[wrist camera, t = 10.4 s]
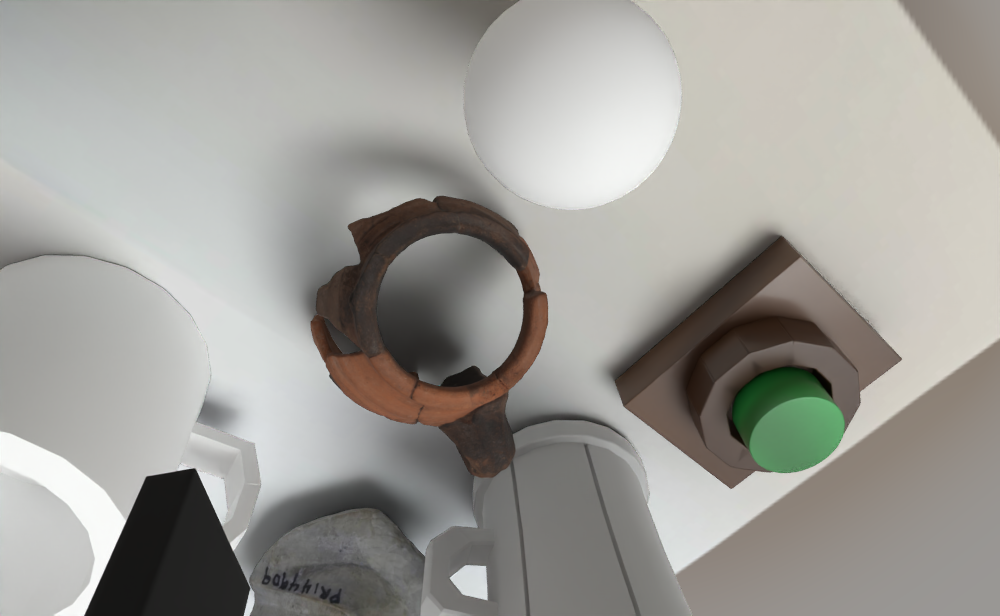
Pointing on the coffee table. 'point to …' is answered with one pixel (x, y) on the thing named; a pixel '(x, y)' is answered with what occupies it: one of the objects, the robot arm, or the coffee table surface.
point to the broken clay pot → (400, 394)
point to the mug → (96, 423)
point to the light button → (787, 420)
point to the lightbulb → (572, 100)
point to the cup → (559, 534)
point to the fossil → (340, 569)
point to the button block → (752, 357)
